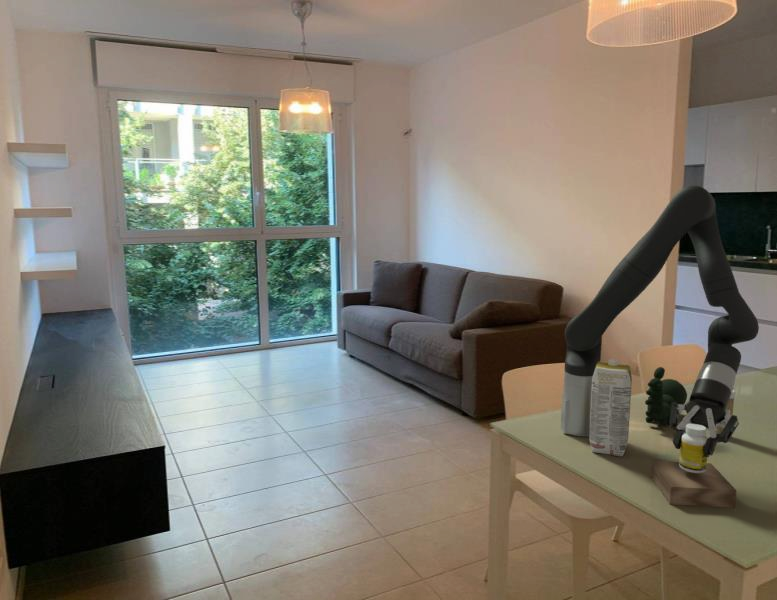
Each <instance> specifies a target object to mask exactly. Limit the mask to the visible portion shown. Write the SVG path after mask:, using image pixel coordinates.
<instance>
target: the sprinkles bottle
mask: <svg viewBox="0 0 777 600" xmlns="http://www.w3.org/2000/svg"><path fill="white" fill-rule="evenodd" d="M735 397H736V391H735V390H734V389H733V392H732V393H731V396H730V399H729V402H728V405H727V408H726V414H728V415H730V416H732V415H734V400H735ZM725 421H726V420H725V419H724V420H723V421H721V422H720V423H718V424H716V428H717V434H721V432H722V431H723V429H724V427H725V426H726V422H725ZM731 438H732V436H731V437H730V439H731Z"/></svg>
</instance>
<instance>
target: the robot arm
mask: <svg viewBox="0 0 777 600" xmlns="http://www.w3.org/2000/svg"><path fill="white" fill-rule="evenodd" d="M686 234H688V235H689V237H690V240H691V243H692V245H693V249H694V253H695V257H696V264H697V268H698V273H699V274H698V275H699V278H700V282H701V284H702V289H703V292H704V294H705V297H706V301H707V303H708V304H709V305H710V306H711V307H713V308H719V307H720V308H721V307H722V308H723V309H724V310H725V311H726V313H727V314H726V315H723V316H720V317H717V318H715V319H714V320H712V321H711V323H710V325H709V326H708V329H707V353H706V355H705V359H704V360H703V364H702V366H701V368H700V369H699V372H698V374H697V376H696V380H695V382H694V385H693V388H692V391H691V394H690V395H689V396H690V397H689V399H688V401H687V402H685V404H684V405H681V404H677V403H676V402H673V403H672V406H671V414H670V422H669V423H670V427H671V429H672V430H673V431H675V433H674V436H673V439H672V443H673V446H674V448H675V449H677V450H680V449H681V437H682V435H683V434H684V433H687V432H686V425H687V424H699V425H702V426H704V427H706V429H708V432H709V437H707V438H708V440H707V443H706V446H705V449H704V452H703V453H704V456H705V457H707V458H709V457H710V456H713V455H714V452H715V449H716V445H717V444H718V443H723V444H727V443H728V442H729V441H730V439H731V438H732V436H733V434H734V433H735V431H736V429H737V428H738V426H739V423H740V422H739V418H738V416H737V415H735V414H733V415H732V416H730V415H728V414H726V408H727V405H728V402H729V399H730V396H731V393H732V392H733V390H734V388H735V387H734V386H735V382H736V376H737V373H738V370H739V367H740V364H741V361H742V354H741V351H740V350H739V349H738V348H736V347H735V346H733V345H735V344H741V343H745V342H750V341H752V340H755V338H757V336H758V334H759V329H760V326H759V321H758V318H757V317H756V316H755V314H754V312H753V311H752V309H751V308H750V306H749V305H748V304H747V302H746V300H745V299H744V298H743V296H742V294H740V291H739V288H738V284H737V282H736V279H735V276H734V273H733V270H732V268H731V265H730V261H729V259H728V257H727V254H726V252H725V249H724V245H723V243H722V238H721V235H720V230H719V225H718V219H717V209H716V200H715V198H714V196H713V195H712V194H711V193H710V192H709V191H708V190H707V189H706V188H704V187H702V186H700V185H689V186H685V187H682V188H681V189H679V190H678V191H677V192H676V193H675V194H674V195H673V196H672V198H671V200H670V201H669V202H668V204H667V205H666V207H665V208H664V209H663V211H662V213H661V214H660V215H659V217H658V218H657V220H656V221H655V223H654V224H653V225H652V226H651V227H650V228H649V230H647V232H646V233H645V234H644V235H643V236H642V237H641V238H640V239H639V240H638V241H637V242H636V243H635V244H634V246H633V247H632V248H631V249H630V250H629V251H628V253H626V255H625V256H624V257H623V258H622V259H621V261H619V262H618V264H617V265H616V266H615V267H614V269H613V270H612V271H611V273H610V274H609V276H608V277H607V279H606V280H605V282H603V284H602V286H601V288H600V289H599V291H598V292H597V294H595V297H594V298H593V300H592V301H591V302H590V303H588V305H587V306H586V307H585V308H584V309H583V310H582V311H581V312H580V313H579V314H576V315H575V316H573V317H572V318H571V320H569V321H568V323H567V325H566V327H565V330H564V338H565V342H566V344H567V345H566V352H565V353H566V355H565V361H564V378H563V394H562V395H561V412H560V427H561V429H562V431H563V434H567V435H570V436H571V435H572V436H576V437H590V414H591V393H592V379H593V373H594V369H595V367H596V364H597V363H598V362H601V359H602V357H601V356H602V343H603V342H602V341H603V335H604V334H605V332H606V331H607V329H608V328H609V327H610V326H611V325H612V323H613V322H614V321H615V319H616V318H617V317H618V315H620V314H621V313H622V312H623V311H624V310H625V309H627V308H628V307H629V306H630V305H632V303H633V302H634V301H635V300H637V298H638V297H639V296H640V295H642V293H643V292H644V291H645V290H646V289H647V287H648V286H649V285H650V284H651V283H652V282H653V281H654V280H655V279H656V278H657V276H658V275H659V273H660V272H661V271H662V269H663V268H664V266H665V264H666V262H667V261H668V258H669V257H670V255H671V253H672V251H673V250H674V248H675V246H676V245H677V244H678V243H679V242H680V241H681V239H682V238H683V237H684V236H686ZM684 411H685V412H686V415H684V417H683V418H682V420H681V422H679V418H680V415H682V414H683V412H684ZM724 419H725V420H726V421H725V422H726V426H725V427H724V429H723V431H722V432H721V434H717V428H716V424H718V423H720V422H721V421H723V420H724ZM730 437H731V438H730Z"/></svg>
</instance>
